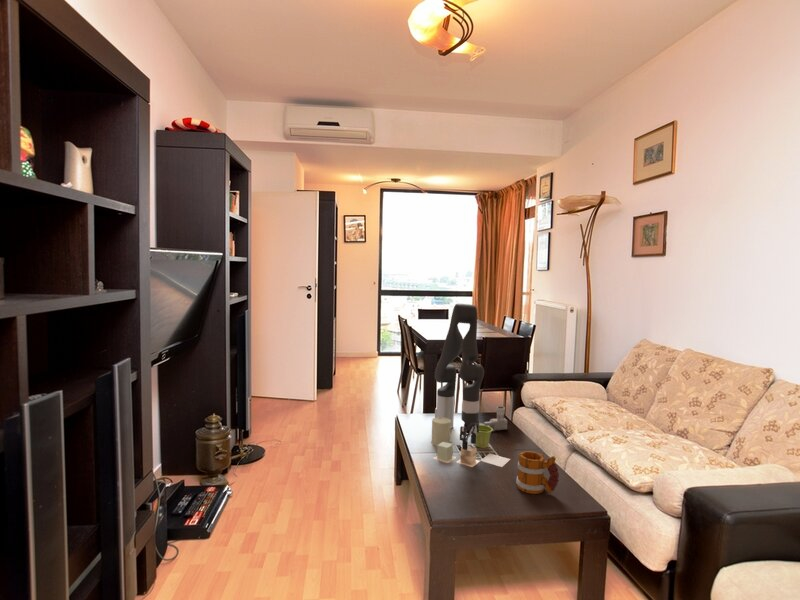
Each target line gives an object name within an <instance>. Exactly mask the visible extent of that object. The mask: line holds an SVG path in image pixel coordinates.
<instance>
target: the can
mask: <svg viewBox="0 0 800 600" xmlns="http://www.w3.org/2000/svg"><path fill="white" fill-rule="evenodd" d="M450 428H451V420H450V419H448V418H444V417H436V418H435V417H433V418H432V419H431V441H430V443H431V444H432V445H433V446H435V447H438V444H440V443H442V442H446V443H450V444H451V429H452V428H451V429H450Z"/></svg>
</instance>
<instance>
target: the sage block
mask: <svg viewBox="0 0 800 600" xmlns="http://www.w3.org/2000/svg"><path fill="white" fill-rule="evenodd" d="M453 447H454V444H452V443H451V442H450V443H446V442H442V443H440V444H438V446H436V448H437V451H436V456H437V458H438V459H441V460H445V461H448V460H449V459H451V458H452V456H454V455H453V452H454V449H453Z"/></svg>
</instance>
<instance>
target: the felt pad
mask: <svg viewBox="0 0 800 600" xmlns="http://www.w3.org/2000/svg"><path fill="white" fill-rule="evenodd" d="M510 460H511V458H507V457H503V456H500V455H497V454H493V453H488V454H487V455H485V456H484V457H483V458H482V459H480V462H482V463H486V464H489V465H493V466H496V467H499V468H503V467H504V466H505V465H506V464H507V463H508V462H509V461H510Z"/></svg>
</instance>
